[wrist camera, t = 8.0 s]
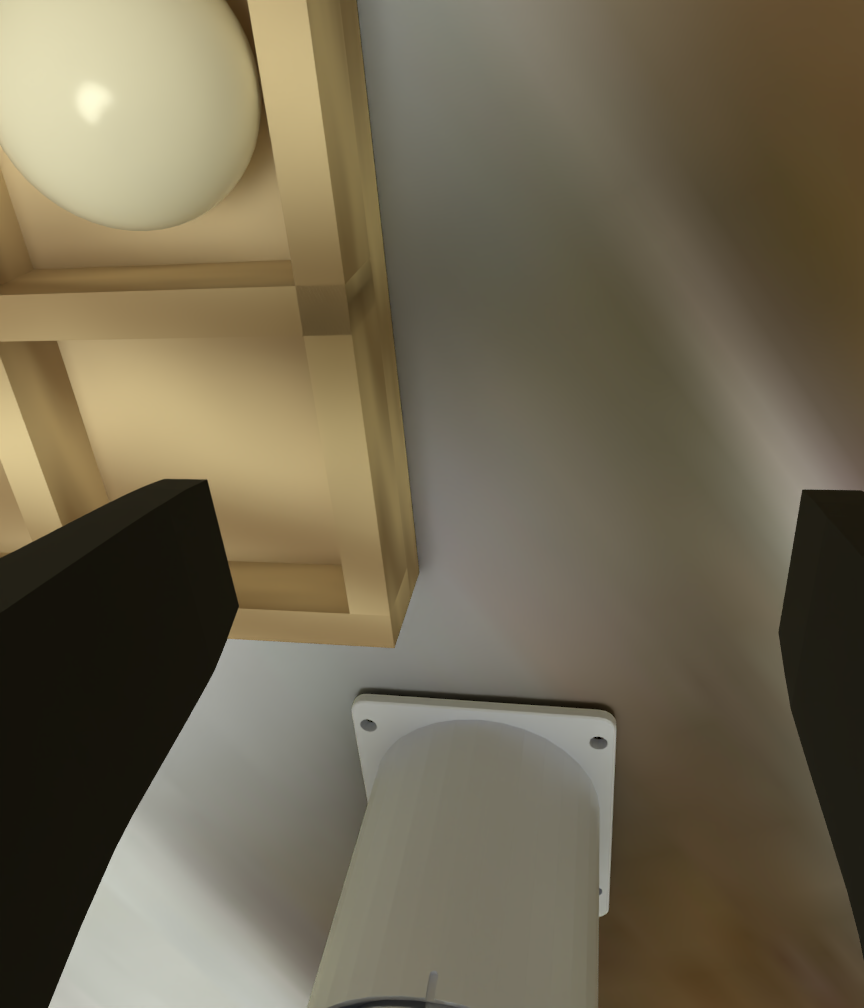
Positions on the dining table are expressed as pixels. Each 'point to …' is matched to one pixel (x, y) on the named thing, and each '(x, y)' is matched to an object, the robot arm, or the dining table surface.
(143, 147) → the white egg
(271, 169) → the egg rack
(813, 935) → the dining table surface
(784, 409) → the dining table surface
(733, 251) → the dining table surface
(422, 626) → the dining table surface
